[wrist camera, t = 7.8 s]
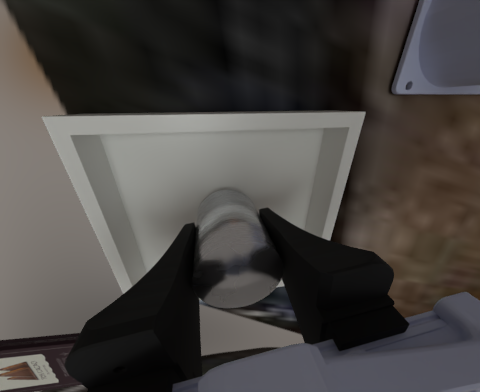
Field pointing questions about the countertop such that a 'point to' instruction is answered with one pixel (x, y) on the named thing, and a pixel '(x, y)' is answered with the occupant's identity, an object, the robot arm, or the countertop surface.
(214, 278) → the tin
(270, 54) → the countertop surface
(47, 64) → the countertop surface
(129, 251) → the tray
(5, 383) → the chocolate bar
